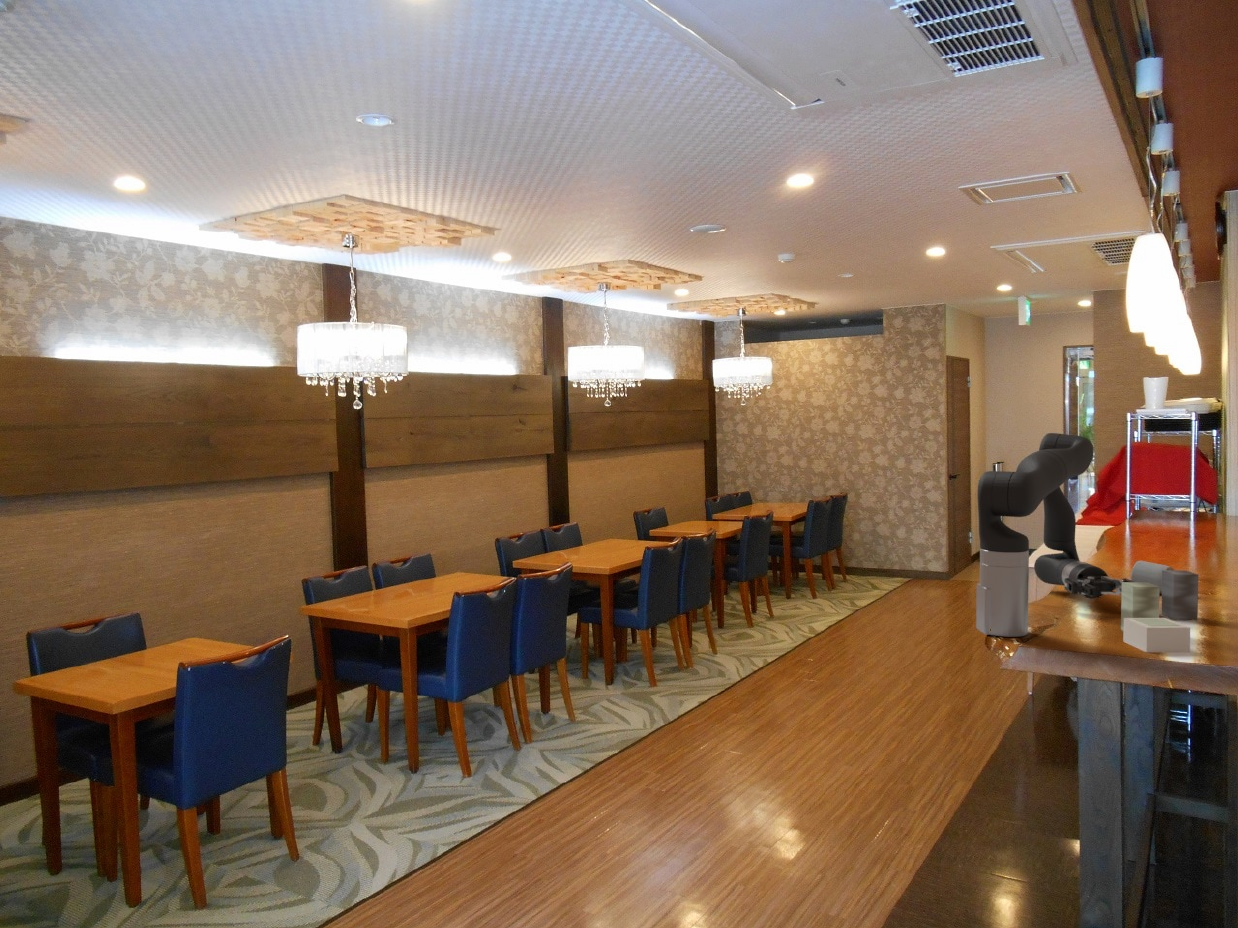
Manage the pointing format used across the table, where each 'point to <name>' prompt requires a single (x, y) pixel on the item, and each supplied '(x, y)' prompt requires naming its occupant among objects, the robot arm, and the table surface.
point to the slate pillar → (1179, 595)
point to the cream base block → (1156, 635)
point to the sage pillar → (1139, 601)
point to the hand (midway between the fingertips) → (1115, 592)
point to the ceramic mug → (1149, 573)
